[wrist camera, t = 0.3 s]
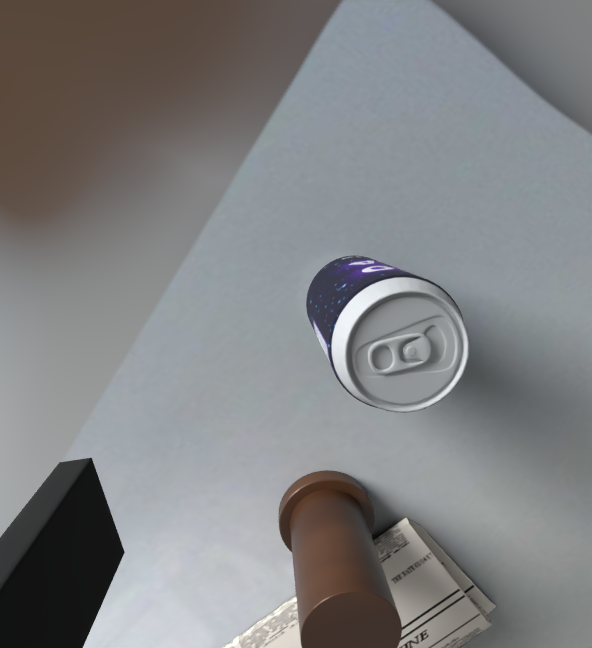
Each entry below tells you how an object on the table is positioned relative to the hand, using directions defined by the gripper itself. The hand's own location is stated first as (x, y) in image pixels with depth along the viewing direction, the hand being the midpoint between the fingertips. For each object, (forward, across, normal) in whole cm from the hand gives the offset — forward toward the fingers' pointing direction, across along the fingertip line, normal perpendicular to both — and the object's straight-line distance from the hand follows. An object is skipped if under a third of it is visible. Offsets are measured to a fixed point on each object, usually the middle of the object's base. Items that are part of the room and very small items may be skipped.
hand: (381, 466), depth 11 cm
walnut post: (+18, -3, -16) cm, 24 cm away
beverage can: (+20, +1, -2) cm, 20 cm away
